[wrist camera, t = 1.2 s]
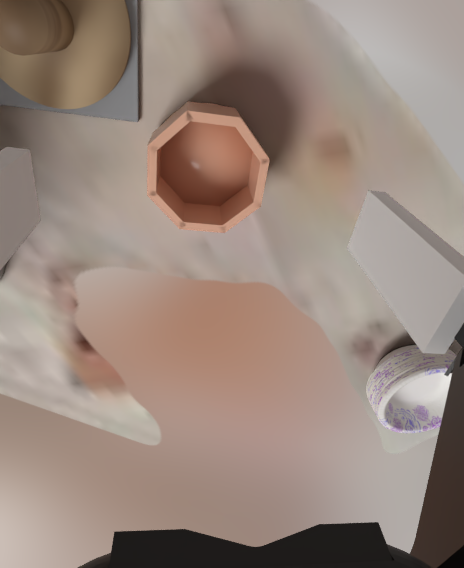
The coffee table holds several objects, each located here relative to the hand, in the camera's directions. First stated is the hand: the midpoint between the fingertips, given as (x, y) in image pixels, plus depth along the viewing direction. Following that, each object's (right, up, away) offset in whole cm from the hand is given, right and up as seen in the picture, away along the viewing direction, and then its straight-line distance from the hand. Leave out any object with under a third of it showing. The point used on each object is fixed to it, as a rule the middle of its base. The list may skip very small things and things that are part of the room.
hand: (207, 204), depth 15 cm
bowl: (-2, +10, +24) cm, 26 cm away
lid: (-14, +19, +16) cm, 29 cm away
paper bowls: (+30, -17, +46) cm, 57 cm away
